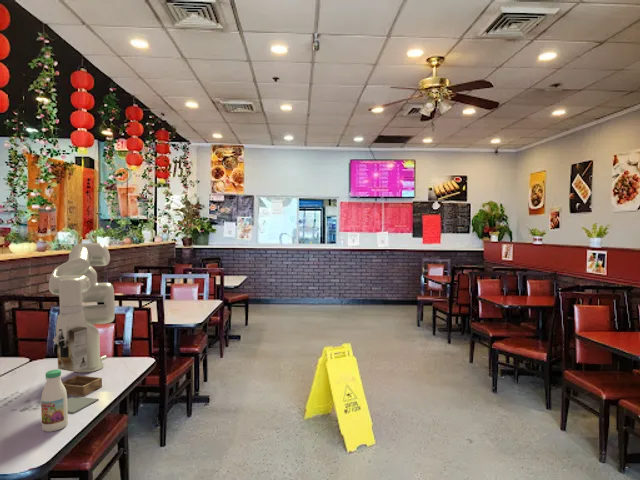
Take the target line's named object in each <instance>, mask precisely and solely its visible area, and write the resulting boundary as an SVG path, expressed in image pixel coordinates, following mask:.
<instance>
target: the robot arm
mask: <svg viewBox="0 0 640 480" xmlns="http://www.w3.org/2000/svg"><path fill="white" fill-rule="evenodd" d="M110 261H111V255H110V251H109V249H108V247H107V245H105V244H104V243H101V242H96V243H95V242H94V243H93V242H90V243H88V242H87V243H77V244H75V245H74V246H72V248H71V250H70V252H69V253H68V260H67V261H66V262H64V263H62V264H60V265H58V266H57V267H56V268H54V269H53V271H52V273H51V275H50V279H49V281H48V290H49V292H50V293H51V294H52V295H55V296H56V295H57V296H58V297H59V314H58V315H57V319H56V325H55V326H56V327H55V328H56V329H55V336H54V338H53V339H52V342H53V343H55V344H56V346H57V345H58V347H60V356H61V357H64V358H67V357H68V347H67V344H68V340H69V331H70V330H73V329H76V328H80V327H87V367H85V368H83V369H80V370H78V371H75V372H74V373H79V374H80V373H81V374H83V373H84V374H87V373H93V372H96V371H99V370H101V369H104V367H105V364H104V363H103V361H104V360H107V359H108V357H107V355H103V356H101V349H100V348H101V345H100V343H101V342H100V331H99V330H98V328H97V327H96V326H95V325H102V324H103V325H104V324H109V323H110V324H111V323H113V322H114V321H115V317H116V316H115V315H116V311H115V308H116V306H115V289H114V285H113V284H112V283H111V282H98V273H97V271H96V269H94V268H93V267H103V266H107V265H109V264H110ZM83 303H85V304H87V303H90V304H89V305H83ZM91 303H102V304H91ZM103 303H104V304H103ZM61 336H62V337H61ZM63 337H64V339H63ZM60 339H61V340H60ZM64 341H65V342H64ZM63 342H64V343H63Z"/></svg>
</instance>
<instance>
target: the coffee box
mask: <svg viewBox="0 0 640 480" xmlns="http://www.w3.org/2000/svg"><path fill="white" fill-rule="evenodd" d="M61 337H62V336H61ZM63 339H64V337H63ZM60 340H61V339H60ZM64 342H65V341H64ZM64 342H63V343H64ZM56 347H57V370H61V371H67V372H74V373H76V372H75V371H78V370H80V369H83V368H85V367H87V327H80V328H76V329H73V330H70V331H69V340H68V344H67V347H68V357H67V358H64V357H61V356H60V347H58V345H57V344H56Z"/></svg>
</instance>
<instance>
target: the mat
mask: <svg viewBox="0 0 640 480" xmlns="http://www.w3.org/2000/svg"><path fill="white" fill-rule="evenodd" d="M98 401H99V398H95V397H94V398H91V397H85V396H75V395H72V396H71V397H69V398H67V411H68V414H73V415H74V414H76V413H78V412H81V410H83V409H85V408H88V407H89V406H91V405H92V404H94V403H96V402H98Z"/></svg>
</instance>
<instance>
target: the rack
mask: <svg viewBox="0 0 640 480" xmlns="http://www.w3.org/2000/svg"><path fill="white" fill-rule="evenodd" d="M102 379H103V378H102V377H99V376H98V377H96V376H87V375H75V376H72V377H70V378H67V379H65V380H62V383H63V385H64V387H65V389H66V393H67V396H68V395H70V396H77V397H85V396H87V395H88V394H90V393H92V392H93V393H94V392H95V391H96V390H99V389H102V387H103V380H102Z"/></svg>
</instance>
